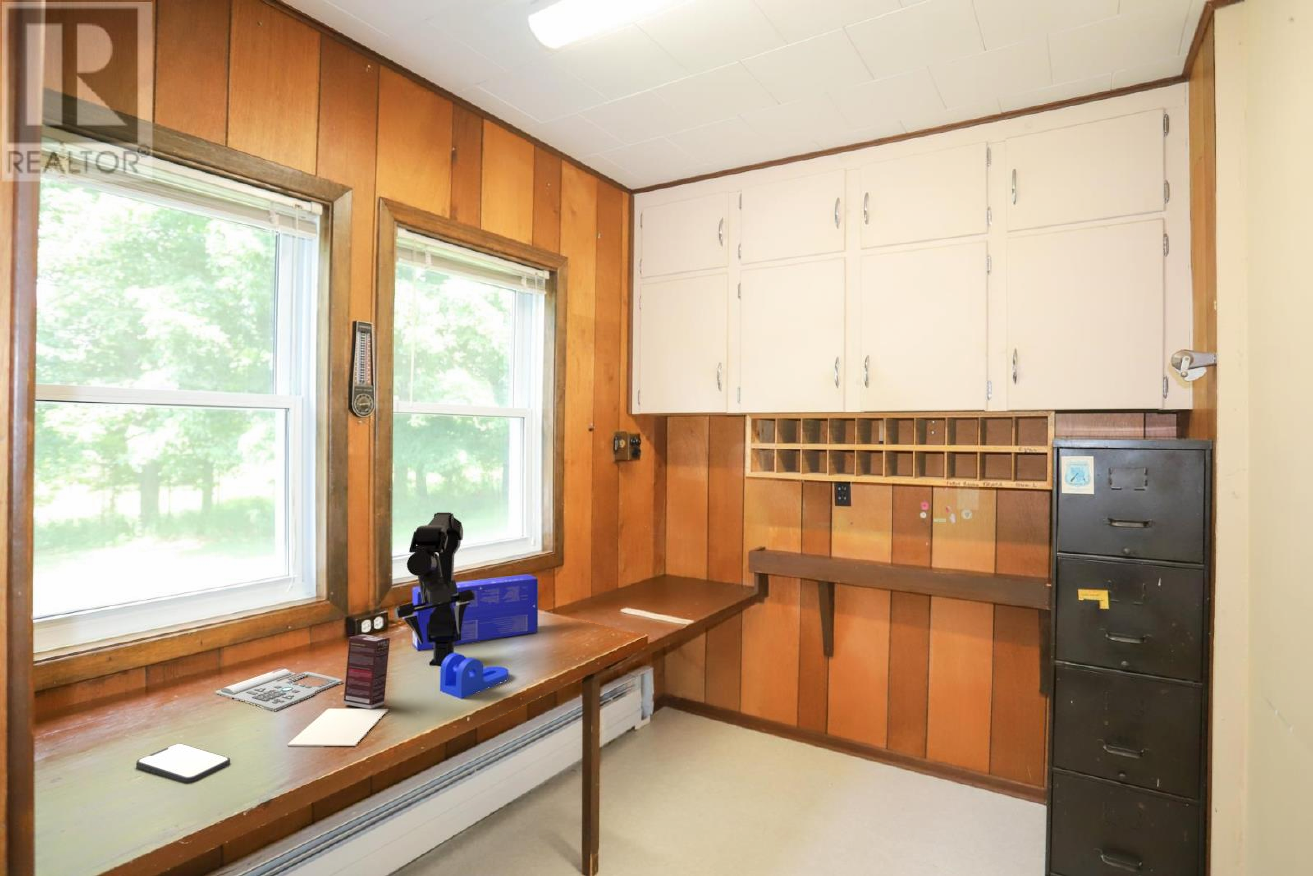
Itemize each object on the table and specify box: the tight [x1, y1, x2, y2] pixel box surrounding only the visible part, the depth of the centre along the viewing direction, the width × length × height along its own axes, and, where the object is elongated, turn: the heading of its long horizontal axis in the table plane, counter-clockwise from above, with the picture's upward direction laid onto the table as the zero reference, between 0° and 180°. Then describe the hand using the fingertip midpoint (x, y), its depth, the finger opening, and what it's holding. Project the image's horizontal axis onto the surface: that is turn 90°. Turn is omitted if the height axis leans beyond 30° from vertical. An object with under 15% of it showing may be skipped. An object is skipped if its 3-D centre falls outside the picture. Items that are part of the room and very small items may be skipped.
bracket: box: [439, 652, 510, 700], centre depth 173 cm, size 18×8×9 cm, turn 145°
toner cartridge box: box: [412, 574, 539, 652], centre depth 212 cm, size 39×8×18 cm, turn 122°
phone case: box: [135, 743, 231, 784], centre depth 129 cm, size 9×2×16 cm
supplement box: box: [342, 634, 391, 709], centre depth 159 cm, size 9×5×16 cm, turn 71°
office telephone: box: [214, 667, 343, 712], centre depth 168 cm, size 23×3×20 cm
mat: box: [287, 708, 389, 747], centre depth 147 cm, size 18×14×1 cm
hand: (441, 638), depth 163 cm, fingers open, 9 cm apart
